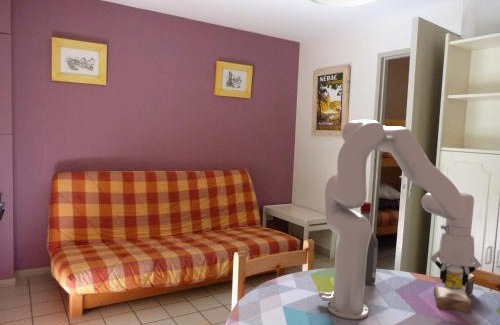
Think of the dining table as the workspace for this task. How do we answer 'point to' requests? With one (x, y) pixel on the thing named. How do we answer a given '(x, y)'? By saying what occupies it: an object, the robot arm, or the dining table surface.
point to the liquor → (370, 250)
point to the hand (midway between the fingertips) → (453, 282)
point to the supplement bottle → (453, 278)
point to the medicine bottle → (468, 284)
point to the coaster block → (452, 299)
